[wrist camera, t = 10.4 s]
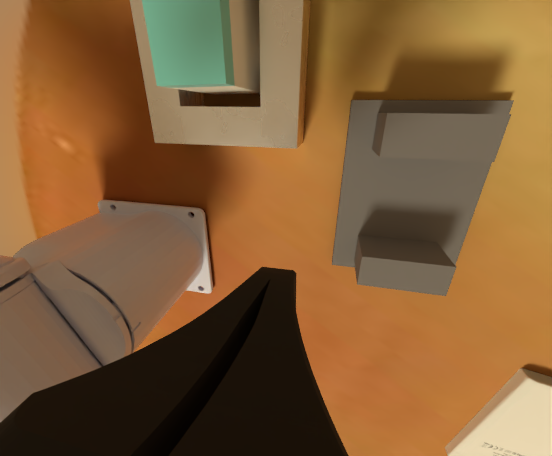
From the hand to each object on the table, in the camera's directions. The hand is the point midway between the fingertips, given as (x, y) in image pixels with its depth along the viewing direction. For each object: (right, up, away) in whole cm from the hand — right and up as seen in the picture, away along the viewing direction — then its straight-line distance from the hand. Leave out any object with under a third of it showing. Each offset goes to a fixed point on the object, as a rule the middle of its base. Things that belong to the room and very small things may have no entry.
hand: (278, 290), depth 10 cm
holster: (+8, +4, +7) cm, 11 cm away
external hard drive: (+22, -15, +13) cm, 29 cm away
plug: (-2, +13, +5) cm, 14 cm away
